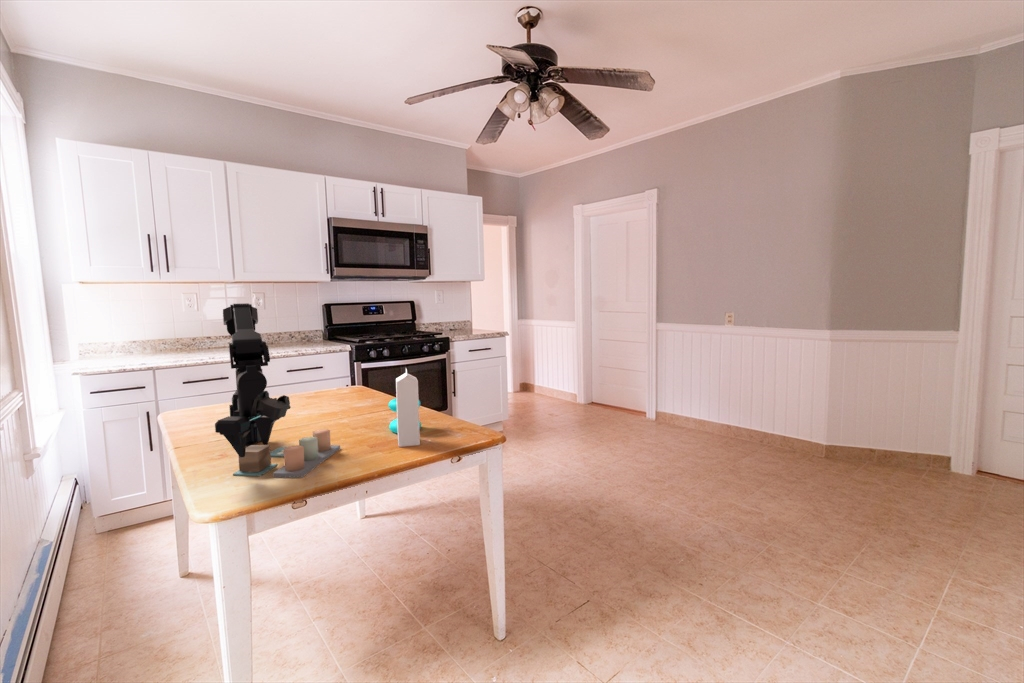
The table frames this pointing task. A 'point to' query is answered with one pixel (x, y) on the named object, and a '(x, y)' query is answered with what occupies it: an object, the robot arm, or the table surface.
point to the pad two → (255, 472)
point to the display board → (307, 464)
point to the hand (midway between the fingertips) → (254, 450)
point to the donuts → (394, 423)
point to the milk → (407, 410)
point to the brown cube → (255, 458)
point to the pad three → (278, 452)
